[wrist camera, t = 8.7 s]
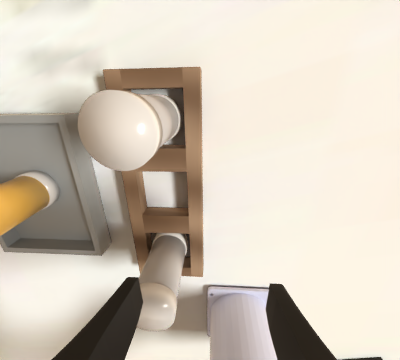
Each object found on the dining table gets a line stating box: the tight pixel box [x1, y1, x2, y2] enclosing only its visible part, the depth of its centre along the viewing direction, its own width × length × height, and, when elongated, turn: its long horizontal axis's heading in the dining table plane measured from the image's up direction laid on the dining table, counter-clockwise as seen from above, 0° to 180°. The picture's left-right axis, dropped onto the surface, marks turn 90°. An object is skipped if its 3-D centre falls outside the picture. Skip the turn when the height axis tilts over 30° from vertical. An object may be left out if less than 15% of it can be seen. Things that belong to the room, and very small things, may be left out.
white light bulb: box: [78, 90, 182, 171], centre depth 13 cm, size 4×4×8 cm
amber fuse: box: [0, 170, 60, 236], centre depth 15 cm, size 4×4×8 cm
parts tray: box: [0, 113, 111, 256], centre depth 19 cm, size 14×11×2 cm
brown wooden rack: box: [103, 67, 203, 277], centre depth 18 cm, size 20×7×2 cm, turn 1°
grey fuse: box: [137, 233, 188, 331], centre depth 18 cm, size 4×4×8 cm
